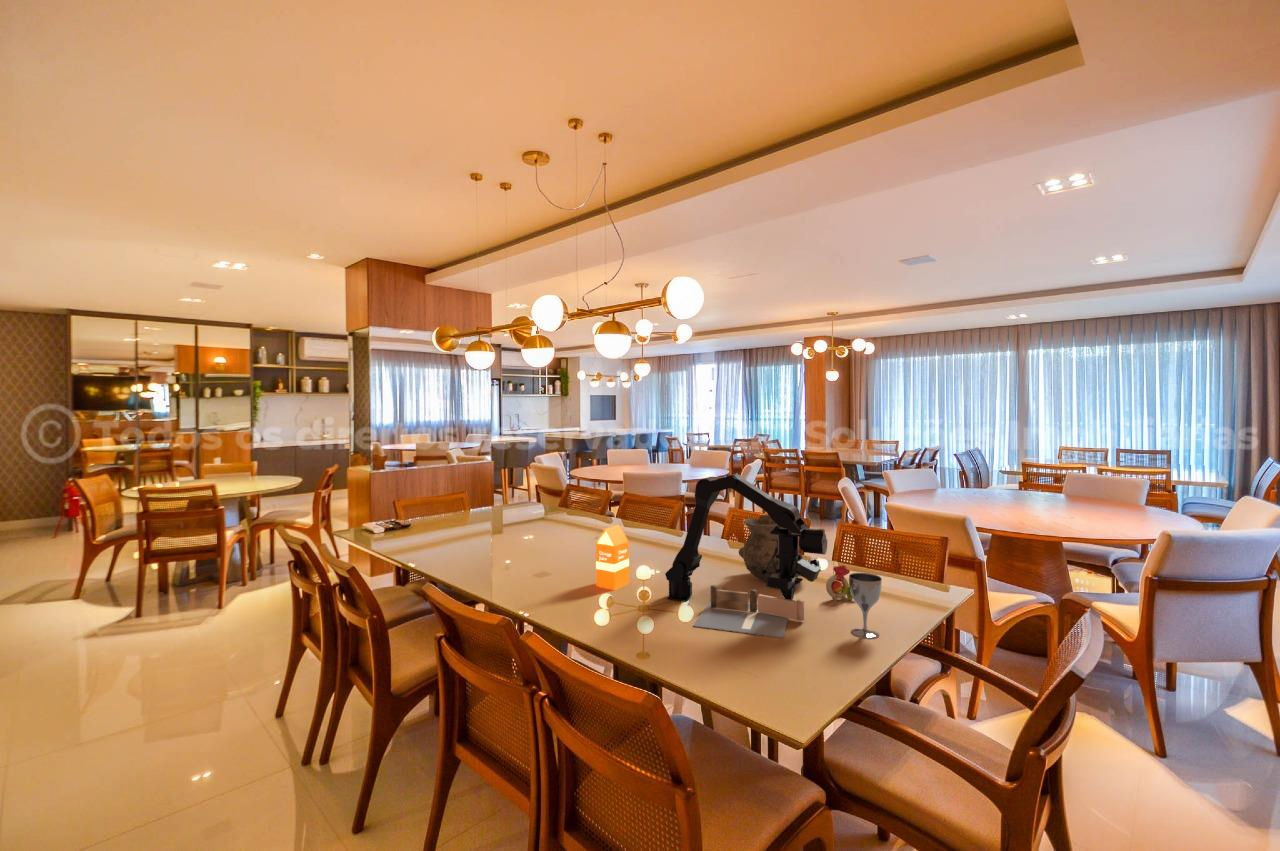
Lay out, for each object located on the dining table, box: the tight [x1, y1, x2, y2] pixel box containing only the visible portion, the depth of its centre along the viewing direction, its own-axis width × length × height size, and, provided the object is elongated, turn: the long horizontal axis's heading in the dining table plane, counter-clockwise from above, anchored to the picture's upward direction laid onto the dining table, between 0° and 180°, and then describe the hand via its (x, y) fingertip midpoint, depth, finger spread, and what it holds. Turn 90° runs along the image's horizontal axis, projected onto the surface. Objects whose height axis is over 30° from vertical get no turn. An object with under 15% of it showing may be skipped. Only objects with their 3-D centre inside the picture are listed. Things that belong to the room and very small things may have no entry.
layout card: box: [692, 599, 789, 639], centre depth 159 cm, size 24×22×1 cm
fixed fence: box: [710, 585, 758, 612], centre depth 165 cm, size 14×2×6 cm, turn 70°
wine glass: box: [848, 572, 883, 640], centre depth 147 cm, size 8×8×15 cm
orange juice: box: [595, 524, 630, 591], centre depth 190 cm, size 8×9×20 cm
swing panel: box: [757, 593, 805, 622], centre depth 158 cm, size 13×2×5 cm, turn 57°
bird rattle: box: [825, 565, 854, 601], centre depth 173 cm, size 6×11×9 cm
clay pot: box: [738, 514, 810, 582], centre depth 194 cm, size 25×24×22 cm
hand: (789, 604), depth 159 cm, fingers closed
